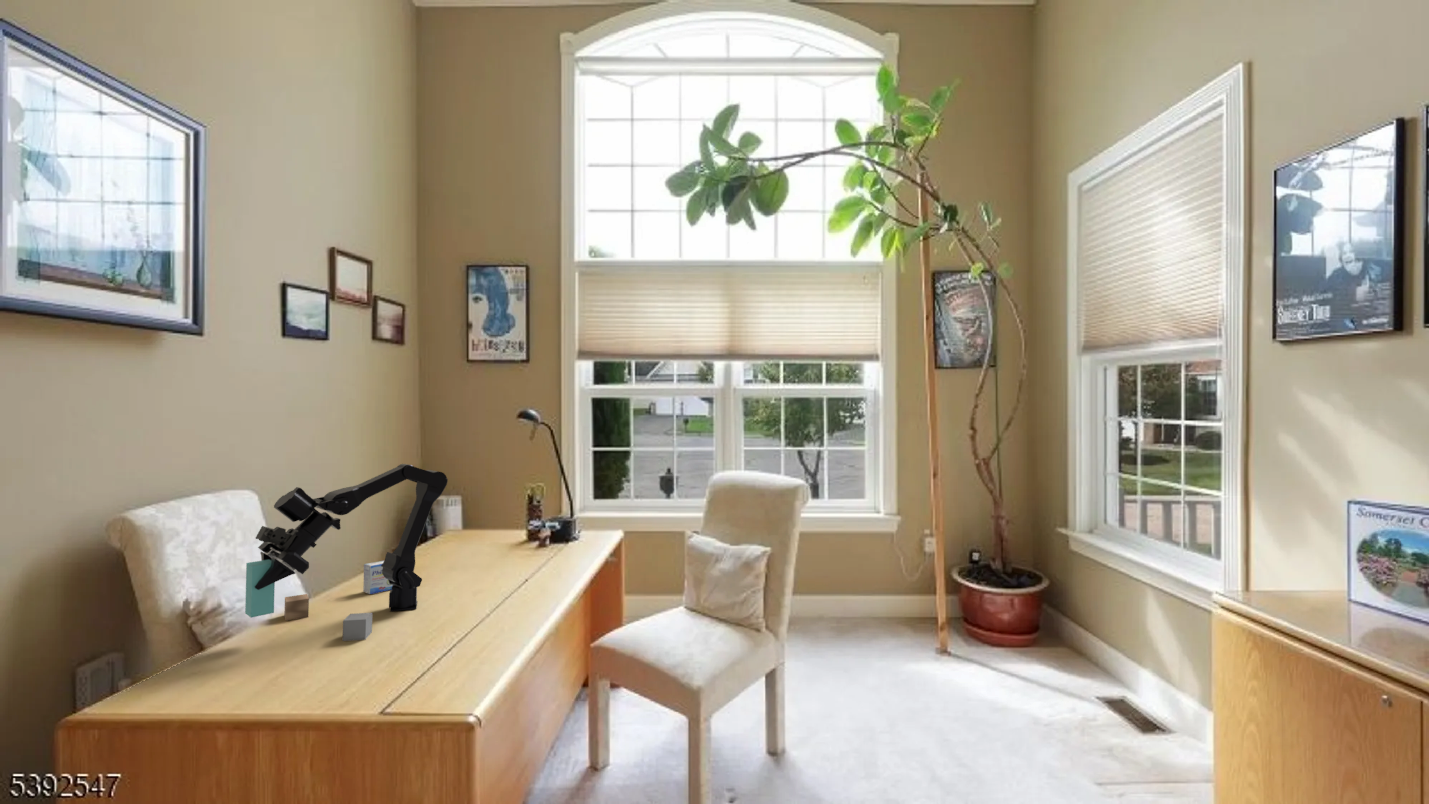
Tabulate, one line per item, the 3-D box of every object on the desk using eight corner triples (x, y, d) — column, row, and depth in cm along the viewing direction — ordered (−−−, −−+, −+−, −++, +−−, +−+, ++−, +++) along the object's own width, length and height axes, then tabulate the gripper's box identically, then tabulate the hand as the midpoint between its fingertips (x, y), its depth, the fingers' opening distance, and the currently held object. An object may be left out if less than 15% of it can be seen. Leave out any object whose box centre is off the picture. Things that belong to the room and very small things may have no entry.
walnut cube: (306, 612, 167) (307, 593, 167) (308, 617, 163) (308, 598, 163) (284, 615, 164) (284, 597, 164) (285, 621, 160) (286, 601, 160)
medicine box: (369, 595, 183) (370, 566, 183) (362, 592, 185) (363, 563, 185) (396, 589, 189) (396, 561, 189) (389, 586, 192) (390, 558, 192)
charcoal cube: (371, 632, 153) (372, 612, 153) (365, 639, 148) (366, 619, 148) (349, 633, 152) (350, 613, 152) (342, 641, 147) (343, 620, 147)
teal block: (267, 608, 149) (269, 559, 149) (273, 612, 146) (275, 562, 146) (245, 613, 145) (246, 562, 145) (251, 617, 142) (252, 566, 142)
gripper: (269, 508, 155) (212, 560, 146) (294, 518, 143) (235, 574, 134) (304, 535, 161) (252, 586, 152) (331, 546, 149) (276, 602, 140)
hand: (253, 586), depth 144 cm, fingers closed on teal block, 4 cm apart
